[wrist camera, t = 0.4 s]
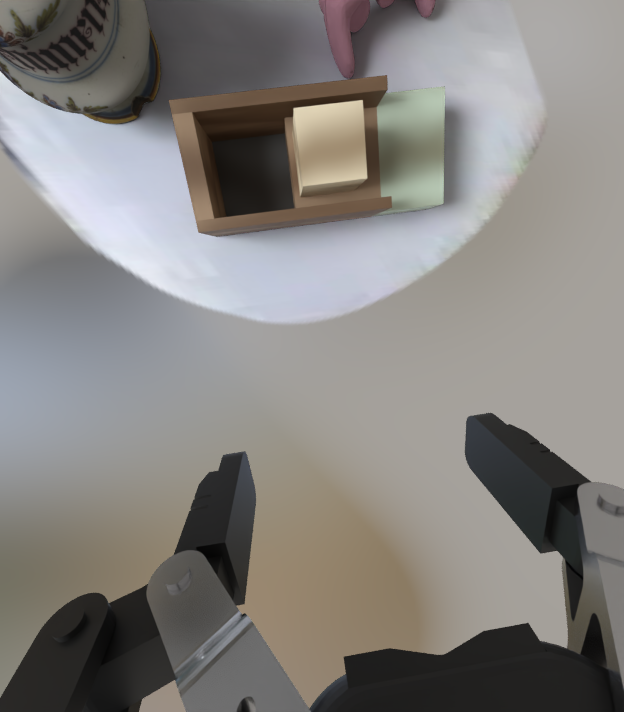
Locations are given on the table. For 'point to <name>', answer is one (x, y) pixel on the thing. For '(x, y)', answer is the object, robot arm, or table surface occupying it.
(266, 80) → the table surface
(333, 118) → the maple block
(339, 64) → the video game controller
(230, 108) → the channel
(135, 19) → the apothecary jar
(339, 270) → the table surface
